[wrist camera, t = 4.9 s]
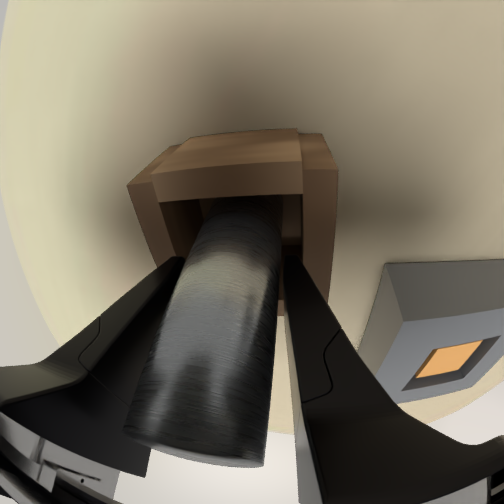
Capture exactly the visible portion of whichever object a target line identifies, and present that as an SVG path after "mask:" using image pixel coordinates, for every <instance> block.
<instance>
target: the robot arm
mask: <svg viewBox="0 0 504 504" xmlns="http://www.w3.org/2000/svg"><path fill="white" fill-rule="evenodd" d="M185 262H186V261H185V258H184V257H182V256H172V257H170V258H169V259H168V260H166V261H165V262H164V263H163V264H161V265H160V266H159V267H158V268H156V269H155V270H154V271H153V272H151V273H150V274H149V275H148V276H146V277H145V278H144V279H143V280H142V281H140V282H139V283H138V284H137V285H135V286H134V287H133V288H132V289H131V290H129V291H128V292H127V293H126V294H125V295H123V296H122V297H121V298H120V299H119V300H117V301H116V302H115V303H114V304H113V305H111V306H110V307H109V308H108V309H107V310H106V311H104V312H103V313H102V314H101V315H100V316H98V317H97V318H96V319H95V320H94V321H93V322H92V323H90V324H89V325H88V326H87V327H86V328H84V329H83V330H82V331H81V332H80V333H78V334H77V335H76V336H74V337H73V338H72V339H71V340H69V341H68V342H67V343H65V344H64V345H63V346H61V347H60V348H59V349H58V350H56V351H55V352H54V353H52V354H51V355H50V356H48V357H47V358H46V359H44V360H42V361H41V362H38V363H35V364H30V365H19V366H6V367H0V495H3V496H6V497H9V498H12V499H14V500H15V501H16V502H17V503H18V504H122V503H120V502H117V501H115V500H113V497H114V493H115V488H116V484H117V481H118V477H119V473H120V471H123V472H126V473H130V474H133V475H136V476H140V477H144V478H145V476H146V472H147V466H148V461H149V456H150V452H151V448H149V447H147V446H144V445H142V444H140V443H138V442H135V441H133V440H132V439H130V438H128V437H126V436H125V435H124V434H122V430H123V427H124V424H125V421H126V417H127V414H128V411H129V408H130V405H131V402H132V399H133V396H134V393H135V390H136V387H137V384H138V381H139V379H140V376H141V373H142V370H143V367H144V365H145V362H146V359H147V356H148V354H149V351H150V348H151V346H152V343H153V340H154V338H155V335H156V333H157V330H158V327H159V325H160V322H161V320H162V317H163V315H164V312H165V310H166V307H167V305H168V302H169V300H170V297H171V295H172V293H173V290H174V288H175V285H176V283H177V281H178V278H179V276H180V274H181V271H182V269H183V267H184V264H185ZM283 298H284V322H285V333H286V343H287V353H288V364H289V374H290V385H291V397H292V409H293V421H294V434H295V443H296V444H295V447H296V461H297V462H296V463H297V478H298V495H299V496H298V497H299V503H300V504H504V435H501V436H498V437H495V438H493V439H492V440H489V441H487V442H484V443H482V444H478V445H468V444H463V443H460V442H458V441H456V440H454V439H452V438H450V437H448V436H446V435H444V434H442V433H440V432H439V431H437V430H435V429H433V428H431V427H429V426H428V425H426V424H424V423H422V422H421V421H419V420H417V419H415V418H414V417H412V416H410V415H409V414H407V413H406V412H404V411H403V410H402V409H401V408H400V407H399V406H398V405H397V404H396V403H395V402H394V401H393V400H392V398H391V397H390V396H389V395H388V393H387V392H386V391H385V389H384V388H383V387H382V385H381V384H380V383H379V381H378V380H377V379H376V377H375V376H374V375H373V373H372V372H371V371H370V370H369V368H368V367H367V366H366V364H365V363H364V361H363V360H362V359H361V357H360V356H359V355H358V353H357V352H356V350H355V348H354V347H353V345H352V344H351V342H350V341H349V339H348V337H347V336H346V334H345V332H344V330H343V329H341V325H340V324H339V322H338V320H337V319H336V317H335V315H334V314H333V312H332V310H331V309H330V307H329V305H328V304H327V302H326V300H325V299H324V297H323V295H322V294H321V292H320V290H319V289H318V287H317V285H316V284H315V282H314V280H313V279H312V277H311V276H310V274H309V272H308V271H307V269H306V268H305V266H304V264H303V263H302V261H301V260H300V258H299V256H298V255H296V254H294V255H285V256H284V267H283Z"/></svg>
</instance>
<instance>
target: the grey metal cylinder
mask: <svg viewBox="0 0 504 504" xmlns="http://www.w3.org/2000/svg"><path fill="white" fill-rule="evenodd" d="M282 225H283V199H282V196H281V194H276V195H251V196H232V197H216V198H215V199H214V201H213V203H212V205H211V207H210V210H209V212H208V214H207V216H206V218H205V220H204V222H203V224H202V227H201V229H200V231H199V233H198V235H197V238H196V240H195V242H194V244H193V246H192V249H191V251H190V253H189V255H188V258H187V260H186V262H185V264H184V267H183V269H182V271H181V274H180V276H179V278H178V281H177V283H176V285H175V288H174V290H173V293H172V295H171V297H170V300H169V302H168V305H167V307H166V310H165V312H164V315H163V317H162V320H161V322H160V325H159V327H158V330H157V333H156V335H155V338H154V340H153V343H152V346H151V348H150V351H149V354H148V356H147V359H146V362H145V365H144V367H143V370H142V373H141V376H140V379H139V381H138V384H137V387H136V390H135V393H134V396H133V399H132V402H131V405H130V408H129V411H128V414H127V417H126V421H125V424H124V427H123V430H122V434H124V435H125V436H126V437H128V438H130V439H132V440H133V441H135V442H138V443H140V444H142V445H144V446H147V447H149V448H152V449H155V450H158V451H160V452H163V453H166V454H170V455H173V456H177V457H180V458H184V459H188V460H192V461H197V462H202V463H208V464H213V465H220V466H228V467H241V468H242V467H243V468H255V467H262V466H263V465H264V457H265V448H266V439H267V430H268V421H269V411H270V401H271V390H272V379H273V367H274V355H275V343H276V329H277V315H278V300H279V284H280V266H281V247H282Z"/></svg>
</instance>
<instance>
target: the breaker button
mask: <svg viewBox="0 0 504 504" xmlns="http://www.w3.org/2000/svg"><path fill="white" fill-rule="evenodd" d="M482 341H483V340H479V341H474V342H470V343H465V344H460V345H454V346H449V347H443V348H437V349H433V350H432V351H431V353H430V354H429V356H428V357H427V358H426V360H425V361H424V362H423V364H422V365H421V366H420V368H419V369H418V370H417V372H416V373H415V375H416V378H419V377H425V376H430V375H436V374H441V373H445V372H450V371H455V370H458V369H459V368H460V367H461V366H462V365H463V364H464V363H465V361H466V360H467V359H468V358H469V357H470V356H471V354H472V353H473V352H474V351H475V350H476V348H477V347H478V346H479V345H480V343H481V342H482Z"/></svg>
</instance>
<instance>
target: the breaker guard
mask: <svg viewBox="0 0 504 504" xmlns="http://www.w3.org/2000/svg"><path fill="white" fill-rule="evenodd" d="M479 340H483V341H482V342H481V343H480V345H479V346H478V347H477V348H476V350H475V351H474V352H473V353H472V354H471V356H470V357H469V358H468V359H467V360H466V361H465V363H464V364H463V365H462V366H461V367H460V368H459V369H458V370H455V371H450V372H445V373H441V374H436V375H430V376H425V377H419V378H416V375H415V373H416V372H417V370H418V369H419V368H420V366H421V365H422V364H423V362H424V361H425V360H426V358H427V357H428V356H429V354H430V353H431V351H432V350H433V349H437V348H443V347H449V346H454V345H460V344H465V343H470V342H474V341H479ZM357 353H358V355H359V356H360V357H361V359H362V360H363V361H364V363H365V364H366V366H367V367H368V368H369V370H370V371H371V372H372V373H373V375H374V376H375V377H376V379H377V380H378V381H379V383H380V384H381V385H382V387H383V388H384V389H385V391H386V392H387V393H388V395H389V396H390V397H391V398H392V400H393V401H394V402H395V403H396V404H399V403H405V402H411V401H416V400H421V399H426V398H431V397H436V396H440V395H444V394H448V393H452V392H456V391H460V390H463V389H467V388H470V387H472V386H473V385H474V384H475V383H476V382H478V381H479V380H480V379H481V378H482V377H483V376H484V375H485V374H486V373H487V372H488V371H489V370H490V369H491V368H492V367H493V366H494V365H495V363H496V362H497V361H498V360H499V359H500V358H501V357H502V356H503V355H504V259H499V260H477V261H453V262H425V263H392V264H385V266H384V270H383V274H382V277H381V281H380V285H379V288H378V292H377V295H376V299H375V302H374V305H373V308H372V312H371V315H370V318H369V321H368V324H367V327H366V330H365V333H364V335H363V338H362V341H361V344H360V347H359V349H358V352H357Z"/></svg>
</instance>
